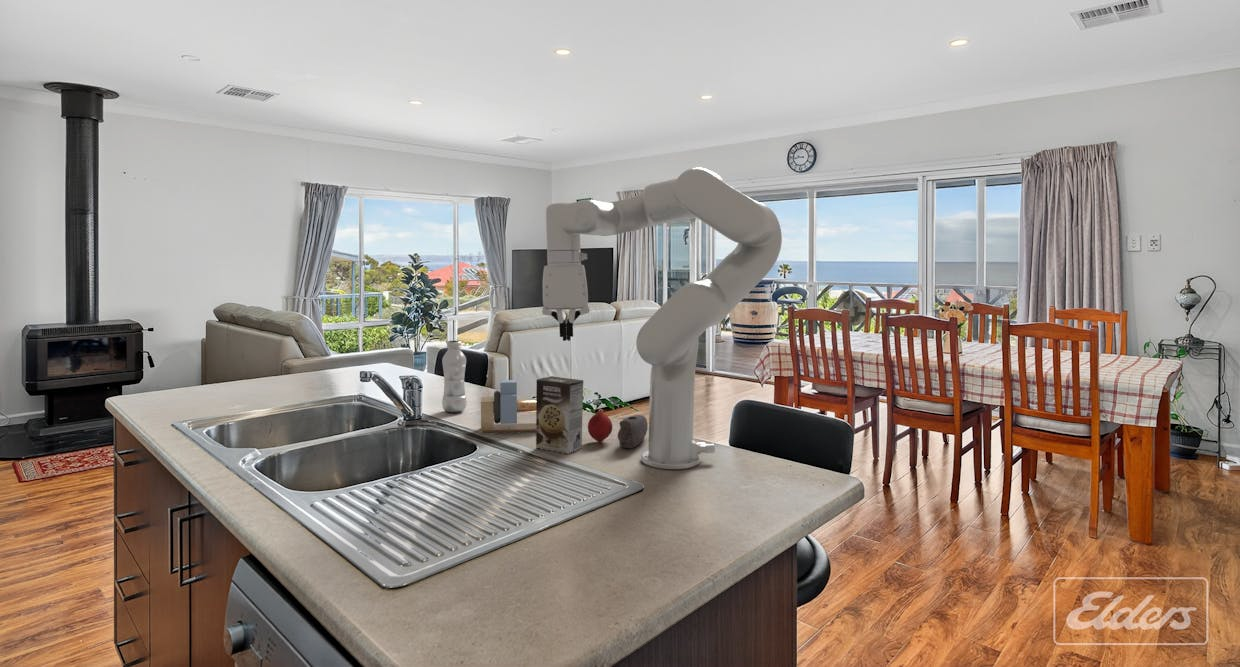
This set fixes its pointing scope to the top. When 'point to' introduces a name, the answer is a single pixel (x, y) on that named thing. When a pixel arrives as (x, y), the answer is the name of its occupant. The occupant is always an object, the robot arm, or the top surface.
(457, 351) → the plastic bottle
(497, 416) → the o ring
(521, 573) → the top surface
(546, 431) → the coffee box
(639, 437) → the perforated stone tool
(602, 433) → the onion
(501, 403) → the blue-grey stepped block
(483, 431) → the pipe rig
